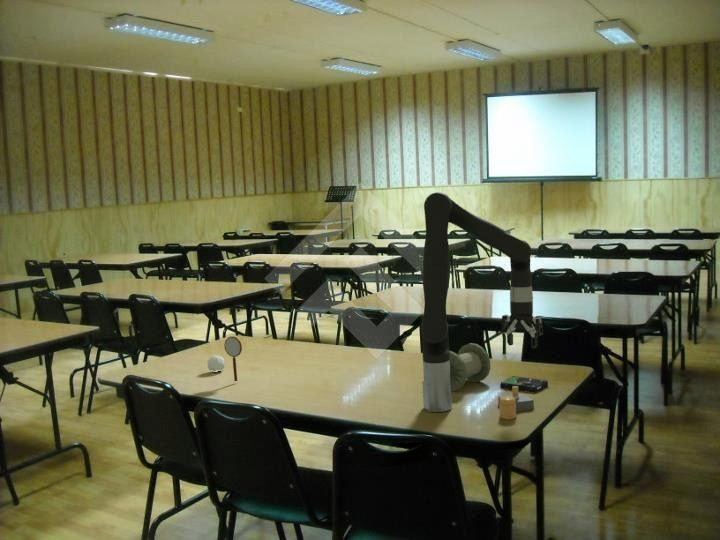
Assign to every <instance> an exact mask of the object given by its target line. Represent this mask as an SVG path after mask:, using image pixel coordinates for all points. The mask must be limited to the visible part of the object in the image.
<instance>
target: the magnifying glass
mask: <svg viewBox="0 0 720 540" xmlns="http://www.w3.org/2000/svg"><path fill="white" fill-rule="evenodd" d="M242 350H243V346H242V342H241V340H239V338H237V337H236V336H228V337H227V338H226V339H225V341H224V351H225V352H226V353H227V355H228V356H230V357H232V368H233V378H234V379H233V380H234V382H235V381H237V382H238V373H237V361H236V360H237V359H236V357H238V356H240V355H241V353H242Z"/></svg>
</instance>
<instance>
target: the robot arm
mask: <svg viewBox="0 0 720 540" xmlns="http://www.w3.org/2000/svg"><path fill="white" fill-rule="evenodd" d="M423 212H424V220H425V238H424V244H423V245H424V246H423V254H422V255H423V257H422V258H423V259H422V288H423V298H424V300H423V301H424V306H423V316H422V321H421V325H420V326H421V328H420V332H421V345H422V366H423V381H422V383H421V384H422V399H423V401H422V402H423V409H425V411H427V412H428V413H442V412H447V411H450V410H452V408H453V404H452V403H453V401H452V391H451V378H450V358H449V351H450V344H449V343H450V342H449V324H448V319H447V298H448V291H449V284H450V275H451V273H450V270H451V255H450V252H451V251H450V244H449V237H448V236H449V235H448V234H449V233H448V231H449V223H450V224H452V225H454V226H457V227H458V228H459V229H462V230H463V231H465V232H466V233H468V234H469V235H470V236H472V237H473V238H475V239H477V240H478V241H480V242H481V243H483V244H486V245H487V246H489V247H491V248H493V249H494V250H497V251H499V252H500V253H502V254H503V255H505V256H507V257H508V258H509V261H510V262H509V264H510V279H509V280H510V287H509V288H510V290H509V311H510V315H509V314H507V313H506V314H503V315H502V316H501V333H504V334H506V343H507V344H508V346H512V345H514V334H513V333H514V332H515V330H523V331H524V330H525V331H526V332H528V334H529V335H530V336H531V338H530V348H531V349H536V347H537V346H538V337H540V336H542V335H544V329H543V319H542V317H534V315H533V314H534V300H533V299H534V295H533V294H534V293H533V283H532V282H533V281H532V272H531V257H532V253H533V251H532V247H531V245H530V244H529V243H528V242H527V241H526V240H522V239H520V238H517V236H513V235H511V234H510V233H509V232H508V231H506V230H505V229H503V228H501V227H499V226H497V225H496V224H494V223H492V222H490V221H488V220H487V219H484V218H482V217H480V216H478V215H475V214H474V213H472V212H470V211H469V210H466V209H465V208H464V207H462V206H461V205H460V204H458V203H456V202H455V201H454V200H453V199H452V198H450V196H449V195H447V194H446V193H444V192H441V191H437V192H436V191H435V192H432V193H431V194H429V195H428V196H427V197H426V198H425V200H424V203H423ZM509 322H511V324H510V325H509ZM533 323H534V324H533ZM534 325H535V326H534Z"/></svg>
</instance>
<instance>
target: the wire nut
mask: <svg viewBox="0 0 720 540" xmlns="http://www.w3.org/2000/svg"><path fill="white" fill-rule="evenodd" d="M498 405H499V407H498V408H499V417H500V418H501V419H505V420H513V419H515V418H516V417H517V411H516V403H515V398H513V397H502V398H500V403H499V404H498Z"/></svg>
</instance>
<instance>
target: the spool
mask: <svg viewBox="0 0 720 540" xmlns="http://www.w3.org/2000/svg"><path fill="white" fill-rule="evenodd" d="M449 358H450V378H451V392H455V391H458V390H460V389H461V388H462V387H463V386H465V384H466V381H468V382H473V383H479V382H481V381H484V380H485V379H487V377H488V376H489V374H490V372H491V360H490V357H489V353H487V351H486V350H485V349H484V347H483V346H481V345H479V344H477V343H472V342H470V343H467V344H464V345H462V346H461V347H460V349H459V350H458V353H456V352H454V351H452V350H449Z"/></svg>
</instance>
